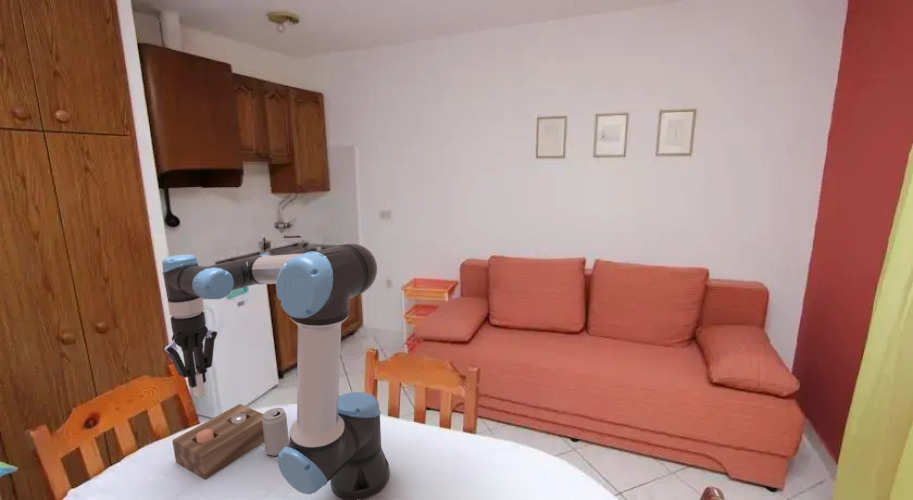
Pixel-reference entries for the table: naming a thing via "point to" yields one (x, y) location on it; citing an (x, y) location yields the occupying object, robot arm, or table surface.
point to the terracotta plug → (204, 436)
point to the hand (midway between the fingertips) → (199, 395)
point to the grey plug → (238, 418)
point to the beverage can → (275, 431)
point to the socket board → (219, 442)
